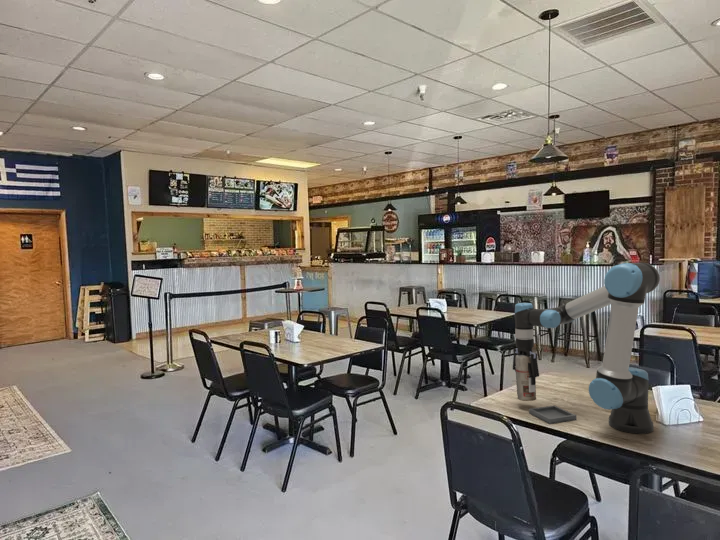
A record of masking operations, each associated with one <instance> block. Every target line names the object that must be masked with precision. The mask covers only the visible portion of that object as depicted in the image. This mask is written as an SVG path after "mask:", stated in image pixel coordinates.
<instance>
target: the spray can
mask: <svg viewBox="0 0 720 540" xmlns="http://www.w3.org/2000/svg"><path fill="white" fill-rule="evenodd" d="M515 360H516V361H515V363H516V366H515V367H516V372H515V381H516V383H515V384H516V395H517V399H518V400H519V401H523V402H529V401H530V402H531V401H536V400H537V397H536V396H537V387H536V385H535V392H531V393H530V392H529V376H530V375H529V371H528V363H531V360H530V356H529V357H527V356H524V355H516V358H515Z"/></svg>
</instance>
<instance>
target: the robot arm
mask: <svg viewBox="0 0 720 540" xmlns="http://www.w3.org/2000/svg"><path fill="white" fill-rule="evenodd" d="M659 273H660V272H659V271H658V269H656V267H655V266H654V265H653V264H649V263H647V262H631V263H630V262H629V263H627V262H624V263H620V264H615V265H614V266H612V267H611V268H610V269H608V271H606V274H605V276H604V281H603V283H604V284H603V286H601V287H599V288H596V289H595V290H592V291H590V292H589V293H586V294H584V295H581V296H579V297H577V298H575V299H573V300H570V301H569V302H566V303H565V304H562V305H559V306H558V307H557V306H556V307H551V308H544V309H543V308H542V309H541V308H534V305H533V304H532V303H530V302H519V303H516V304H515V305H514V320H515V321H514V322H515V328H514V329H515V331H514V332H515V333H514V334H515V347H516V348H513V350H512V351H513V356H512V357H513V358H512V359H513V360H512V371H515V373H516V363H515V361H516V360H515V358H516V355H524V356H527V357H529V356H530V360H531V363H528V371H529V375H530V376H529V392H530V393H531V392H535V385H536V384H537V383H536V382H537V381H536V378H537V377H540V371H539V364H538V354H537V353H536V352H535V353H534V352H533V348H534V345H535V343H534V340H535V339H534V327H538V328H547V329H556V328H558V326H559V325H566V324H567V325H568V324H570V323H572V322H575V320H576V319H579V318H581V317H583V316H586V315H589V314H591V313H593V312H596V311H598V310H601V309H602V308H605V307H608V306H610V310H609V311H610V312H609V319H608V324H607V325H608V326H607V332H606V338H605V339H606V340H605V345H604V353H603V357H602V358H603V359H602V364H601V365H600V366H597V369H596V373H595V378H594V379H592V380H591V381H590V383H589V384H588V394H589V397H590V398H591V399H592V402H593V403H595V405H597V406H598V407H599V408H601V409H604V410H607V411H610V415H608V425H609V426H610V427H611V428H613V429H615V430H618V431H621V432H625V433H630V434H637V435H638V434H641V435H642V434H644V435H645V434H651V433H652V432H653V431H654V422H653V420H652V418H651V414H650V411H649V380H650V379H649V373H648V372H647V371H646V370H644V369H641V368H638V367H637V368H636V367H632V366H630V363H631V357H632V351H633V345H634V339H635V331H636V325H637V319H638V314H639V308H640V307H641V306H643V305H644V304H645V301H646V295H647V294H649V293H651V292H653V291H655V290H656V289H657V287H658V286H659V284H660V280H661V277H660V276H661V275H660V274H659Z"/></svg>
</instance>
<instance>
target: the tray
mask: <svg viewBox="0 0 720 540" xmlns="http://www.w3.org/2000/svg"><path fill="white" fill-rule="evenodd" d="M528 414H529V415H532V416H533V417H535V418H537V419H539V420H540V421H543V422H545V423H546V424H548V425H555V424H559V423H560V424H561V423H566V422H573V421H577V414H574V413H572V412H570V411H567V410H565V409H564V408H562V407H559V406H557V405H548V406H547V405H546V406H540V407H532V408H529V409H528Z"/></svg>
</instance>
